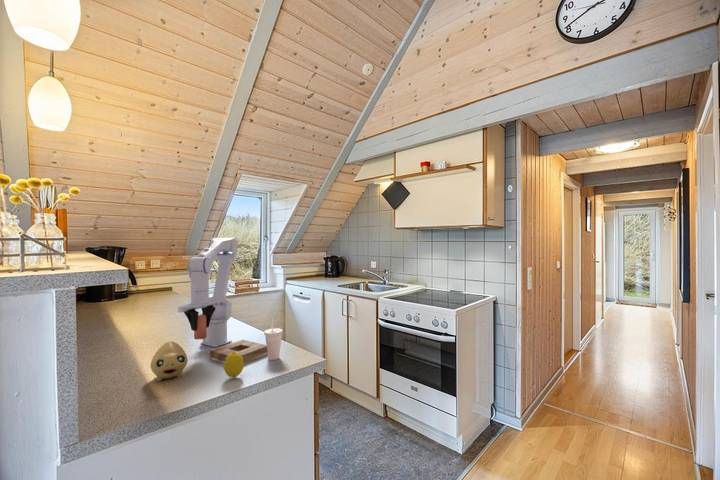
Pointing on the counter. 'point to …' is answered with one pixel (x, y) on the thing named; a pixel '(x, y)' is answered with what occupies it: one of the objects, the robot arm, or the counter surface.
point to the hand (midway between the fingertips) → (200, 328)
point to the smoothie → (273, 342)
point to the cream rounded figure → (169, 361)
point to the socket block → (239, 351)
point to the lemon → (233, 364)
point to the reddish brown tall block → (201, 327)
